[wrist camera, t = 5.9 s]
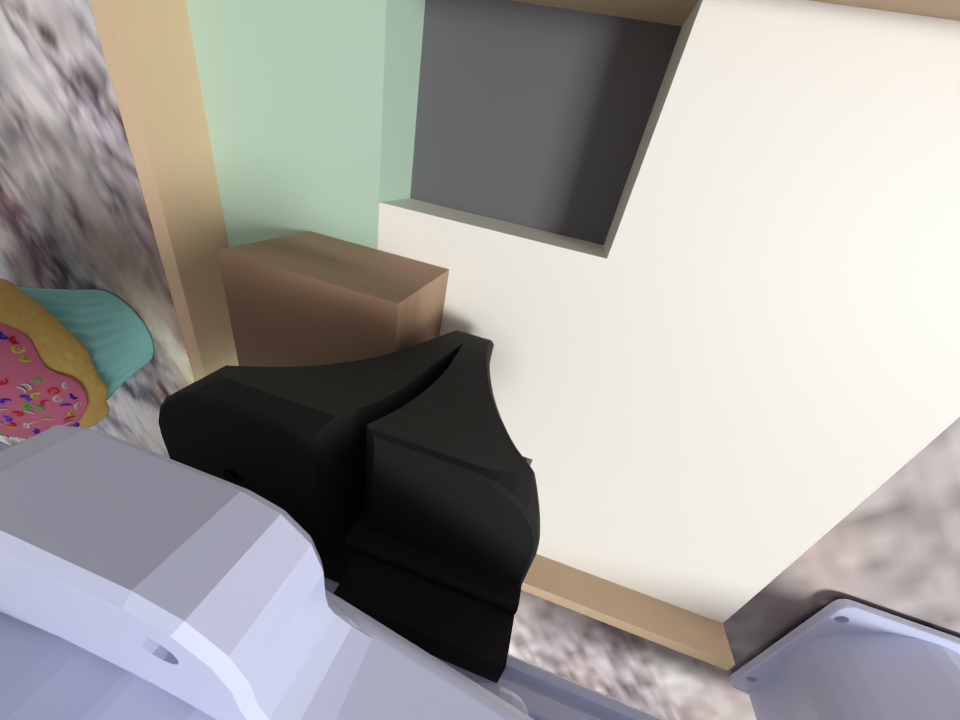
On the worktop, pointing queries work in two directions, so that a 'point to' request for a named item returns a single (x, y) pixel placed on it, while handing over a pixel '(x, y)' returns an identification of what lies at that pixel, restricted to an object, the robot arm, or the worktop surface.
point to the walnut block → (327, 301)
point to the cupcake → (64, 356)
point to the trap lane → (603, 244)
